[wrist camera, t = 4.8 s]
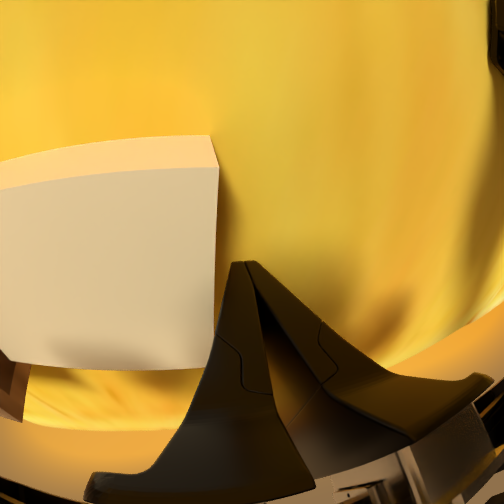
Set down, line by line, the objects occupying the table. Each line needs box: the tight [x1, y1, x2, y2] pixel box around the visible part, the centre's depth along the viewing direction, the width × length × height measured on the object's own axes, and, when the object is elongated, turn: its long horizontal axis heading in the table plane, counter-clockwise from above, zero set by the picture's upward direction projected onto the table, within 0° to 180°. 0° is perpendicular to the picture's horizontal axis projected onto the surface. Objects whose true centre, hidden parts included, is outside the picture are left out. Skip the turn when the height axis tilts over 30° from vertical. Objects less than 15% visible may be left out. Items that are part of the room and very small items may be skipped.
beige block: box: [0, 135, 219, 370], centre depth 8 cm, size 10×8×3 cm
